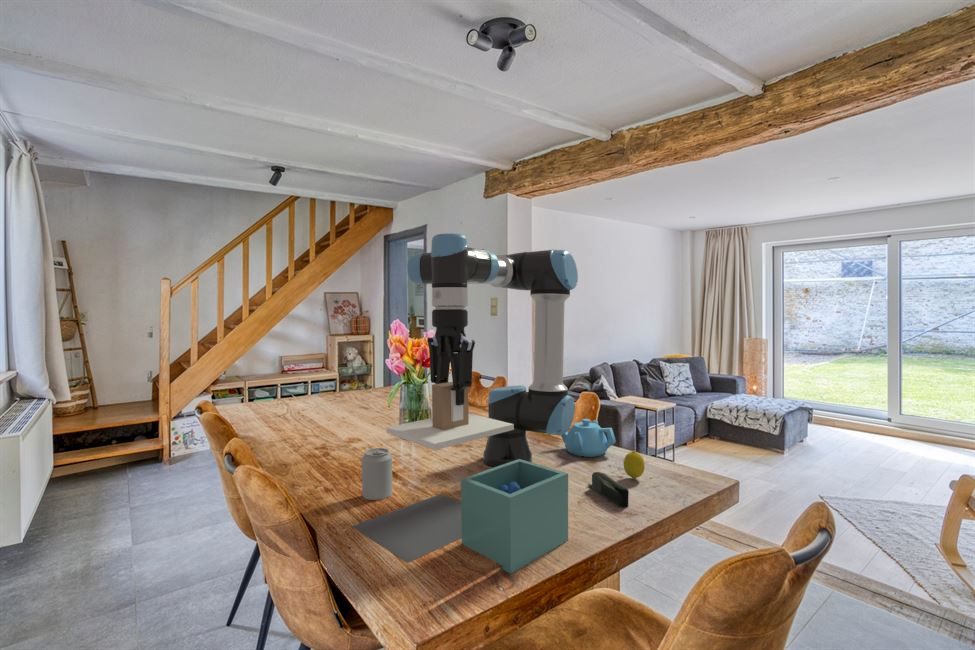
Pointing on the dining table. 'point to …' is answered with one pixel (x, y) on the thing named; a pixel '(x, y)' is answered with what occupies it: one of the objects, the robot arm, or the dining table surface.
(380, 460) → the can
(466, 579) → the dining table surface
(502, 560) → the teal storage bin
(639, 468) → the lemon
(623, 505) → the mobile phone
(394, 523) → the mat
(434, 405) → the lid
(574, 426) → the teapot
